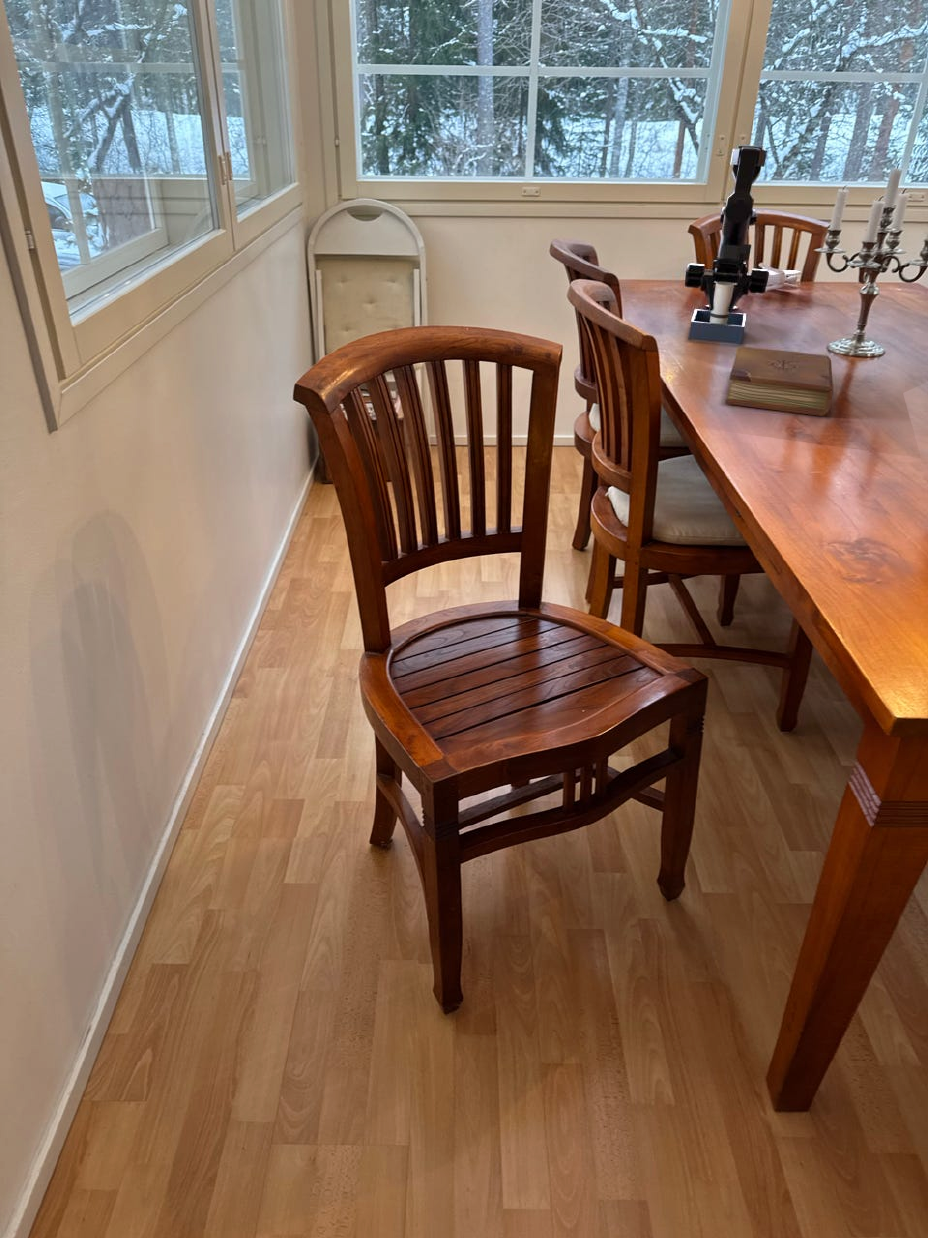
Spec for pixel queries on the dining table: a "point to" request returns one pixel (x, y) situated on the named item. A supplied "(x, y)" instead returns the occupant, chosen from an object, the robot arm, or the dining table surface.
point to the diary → (781, 381)
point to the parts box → (717, 328)
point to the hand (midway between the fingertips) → (720, 310)
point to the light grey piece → (721, 302)
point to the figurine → (780, 278)
